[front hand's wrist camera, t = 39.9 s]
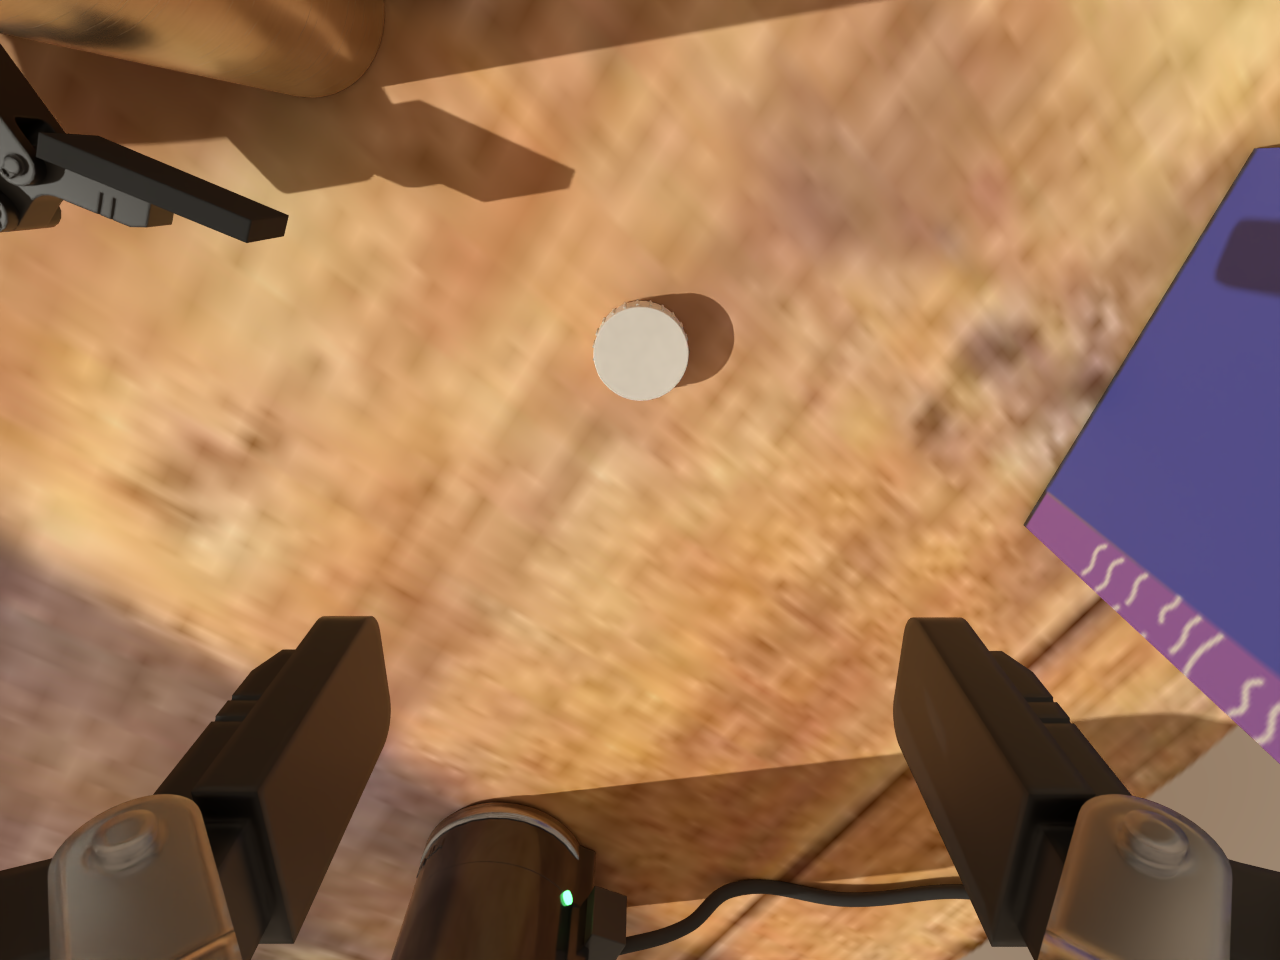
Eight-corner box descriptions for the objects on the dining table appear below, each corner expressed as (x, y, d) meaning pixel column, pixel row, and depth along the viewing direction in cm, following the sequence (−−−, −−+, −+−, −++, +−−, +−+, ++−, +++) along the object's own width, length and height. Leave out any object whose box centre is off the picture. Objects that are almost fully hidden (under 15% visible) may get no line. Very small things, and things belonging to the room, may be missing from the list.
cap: (635, 410, 34) (634, 420, 32) (574, 340, 33) (571, 348, 31) (706, 352, 33) (709, 361, 32) (647, 279, 32) (647, 284, 30)
